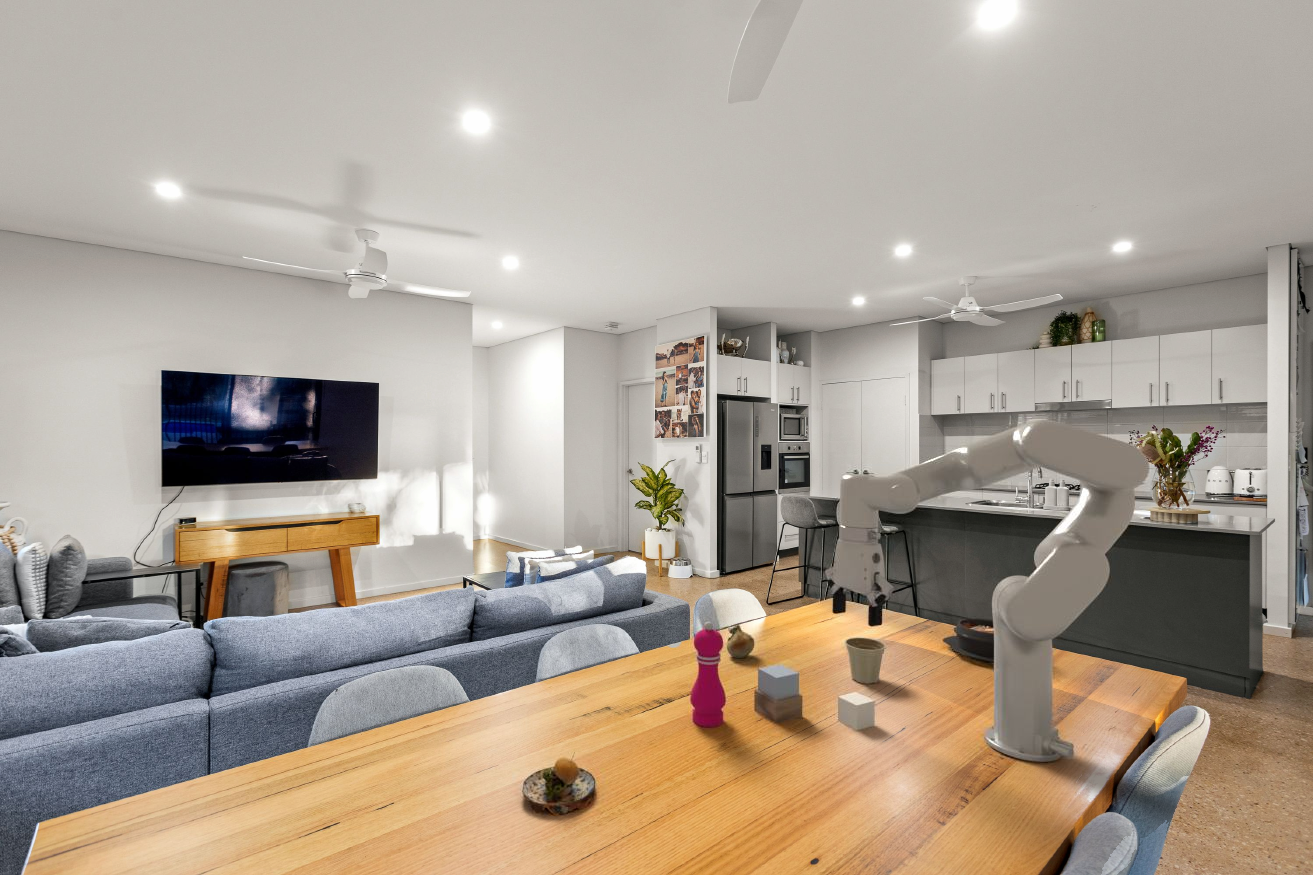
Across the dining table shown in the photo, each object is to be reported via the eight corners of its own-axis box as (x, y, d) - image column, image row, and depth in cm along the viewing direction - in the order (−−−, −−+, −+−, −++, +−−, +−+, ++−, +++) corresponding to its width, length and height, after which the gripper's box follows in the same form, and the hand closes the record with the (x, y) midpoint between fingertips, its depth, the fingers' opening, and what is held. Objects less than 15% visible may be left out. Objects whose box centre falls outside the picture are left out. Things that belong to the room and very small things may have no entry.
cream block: (874, 725, 127) (874, 700, 127) (856, 730, 125) (856, 705, 125) (855, 715, 131) (855, 691, 131) (837, 720, 129) (838, 696, 129)
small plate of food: (562, 768, 110) (562, 725, 110) (611, 792, 102) (612, 746, 102) (505, 797, 100) (506, 750, 100) (555, 827, 93) (555, 775, 93)
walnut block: (802, 717, 131) (802, 695, 131) (775, 724, 127) (776, 701, 127) (780, 704, 137) (780, 683, 137) (754, 711, 134) (754, 689, 134)
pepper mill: (723, 730, 124) (724, 628, 124) (687, 726, 126) (688, 625, 126) (727, 714, 131) (728, 618, 131) (692, 711, 133) (693, 615, 133)
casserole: (926, 646, 177) (926, 616, 177) (976, 640, 184) (977, 611, 184) (1002, 677, 154) (1002, 643, 154) (1057, 669, 160) (1057, 635, 160)
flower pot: (891, 687, 147) (891, 650, 147) (850, 686, 147) (851, 649, 147) (878, 672, 156) (878, 637, 156) (840, 671, 156) (840, 637, 157)
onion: (722, 660, 164) (723, 629, 164) (728, 650, 172) (728, 621, 172) (752, 663, 162) (752, 632, 162) (756, 653, 170) (756, 623, 170)
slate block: (798, 694, 131) (799, 672, 131) (776, 699, 128) (776, 677, 128) (780, 684, 136) (780, 663, 136) (757, 689, 134) (758, 668, 134)
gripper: (906, 540, 123) (904, 628, 123) (840, 528, 138) (839, 606, 138) (878, 542, 119) (876, 633, 119) (814, 529, 134) (813, 610, 134)
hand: (856, 618), depth 129 cm, fingers open, 9 cm apart
